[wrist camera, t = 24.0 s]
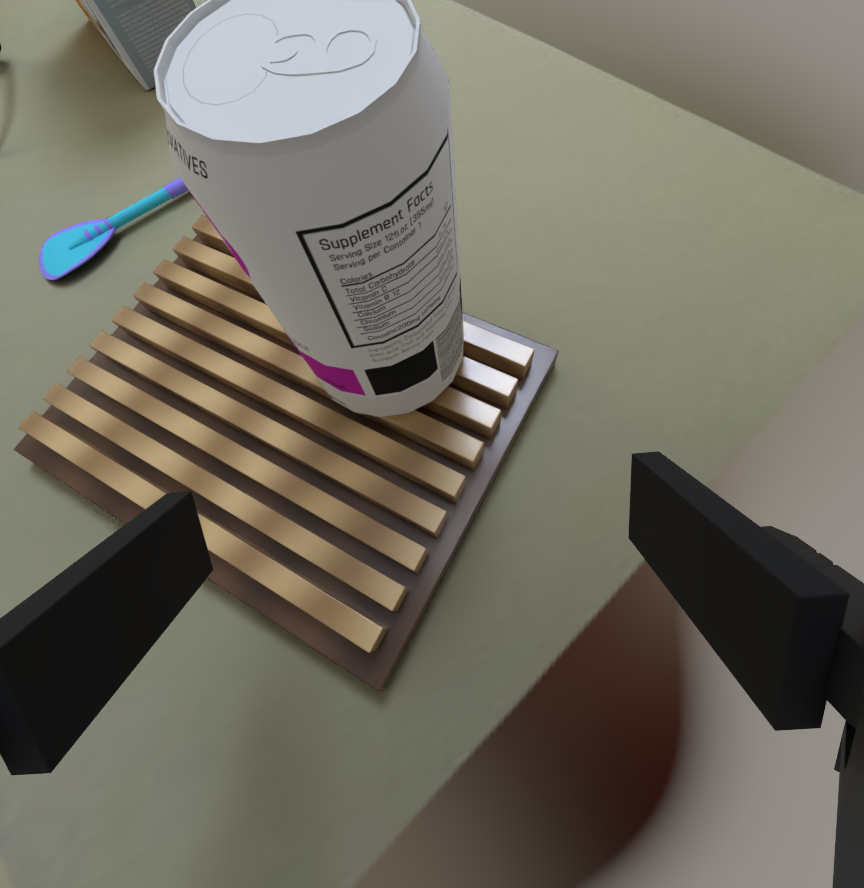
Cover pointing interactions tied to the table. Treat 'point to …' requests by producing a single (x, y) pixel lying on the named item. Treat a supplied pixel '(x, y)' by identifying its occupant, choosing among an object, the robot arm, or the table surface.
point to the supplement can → (328, 182)
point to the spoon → (95, 234)
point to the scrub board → (286, 454)
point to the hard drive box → (137, 29)
